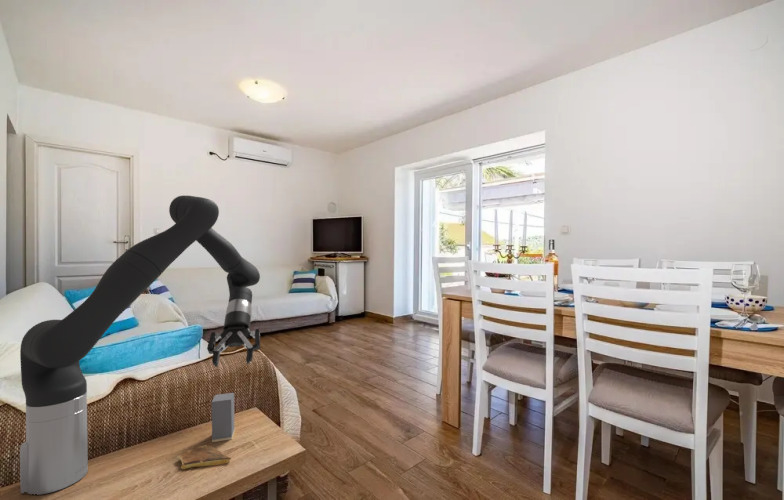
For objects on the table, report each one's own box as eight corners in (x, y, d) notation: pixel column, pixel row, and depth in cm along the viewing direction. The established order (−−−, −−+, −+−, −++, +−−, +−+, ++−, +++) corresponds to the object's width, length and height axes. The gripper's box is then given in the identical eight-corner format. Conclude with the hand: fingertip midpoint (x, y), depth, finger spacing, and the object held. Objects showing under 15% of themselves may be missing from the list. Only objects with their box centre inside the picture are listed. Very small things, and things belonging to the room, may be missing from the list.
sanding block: (211, 442, 87) (211, 401, 87) (215, 433, 92) (215, 394, 92) (231, 439, 89) (231, 399, 89) (234, 430, 93) (234, 392, 93)
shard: (231, 464, 79) (231, 456, 79) (196, 483, 72) (195, 474, 72) (207, 449, 85) (206, 441, 85) (172, 465, 79) (172, 457, 79)
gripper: (211, 311, 108) (202, 360, 97) (260, 308, 111) (257, 355, 100) (216, 324, 113) (207, 372, 102) (263, 321, 116) (259, 367, 105)
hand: (232, 363), depth 101 cm, fingers open, 8 cm apart
